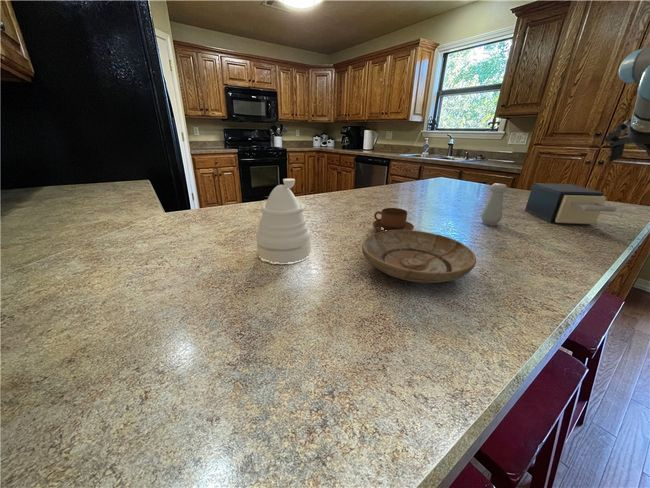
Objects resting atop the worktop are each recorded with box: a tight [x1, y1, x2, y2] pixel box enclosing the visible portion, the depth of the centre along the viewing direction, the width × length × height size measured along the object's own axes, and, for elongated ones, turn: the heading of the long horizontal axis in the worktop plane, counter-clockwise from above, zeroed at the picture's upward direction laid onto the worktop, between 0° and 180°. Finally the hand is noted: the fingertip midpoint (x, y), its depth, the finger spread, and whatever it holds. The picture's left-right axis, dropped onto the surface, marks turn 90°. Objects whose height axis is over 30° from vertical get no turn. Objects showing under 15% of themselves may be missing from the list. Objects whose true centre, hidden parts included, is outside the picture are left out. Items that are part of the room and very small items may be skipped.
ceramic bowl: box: [361, 229, 477, 284], centre depth 59 cm, size 23×24×5 cm
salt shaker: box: [480, 182, 508, 227], centre depth 85 cm, size 6×6×13 cm
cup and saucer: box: [372, 207, 415, 232], centre depth 80 cm, size 12×12×6 cm
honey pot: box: [256, 178, 312, 263], centre depth 62 cm, size 13×13×18 cm
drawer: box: [554, 194, 617, 225], centre depth 88 cm, size 20×11×9 cm, turn 174°
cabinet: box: [524, 182, 605, 225], centre depth 93 cm, size 15×13×11 cm
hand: (636, 171), depth 77 cm, fingers open, 13 cm apart
